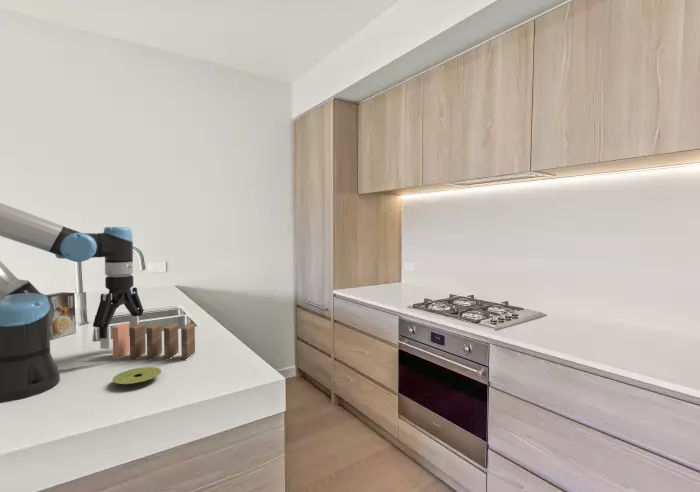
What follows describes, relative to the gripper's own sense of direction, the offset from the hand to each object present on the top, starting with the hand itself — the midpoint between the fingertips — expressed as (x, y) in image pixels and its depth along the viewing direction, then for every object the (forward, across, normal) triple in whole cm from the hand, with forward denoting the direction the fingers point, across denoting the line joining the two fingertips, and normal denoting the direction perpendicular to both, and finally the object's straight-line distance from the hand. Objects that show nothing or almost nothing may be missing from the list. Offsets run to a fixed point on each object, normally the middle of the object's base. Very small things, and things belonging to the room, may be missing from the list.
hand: (121, 341), depth 115 cm
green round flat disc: (+5, -19, -18) cm, 27 cm away
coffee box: (+5, +21, +39) cm, 45 cm away
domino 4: (+5, 0, -16) cm, 17 cm away
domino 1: (+5, 0, 0) cm, 5 cm away
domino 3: (+5, 0, -11) cm, 12 cm away
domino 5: (+5, 0, -22) cm, 22 cm away
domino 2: (+5, 0, -6) cm, 7 cm away
